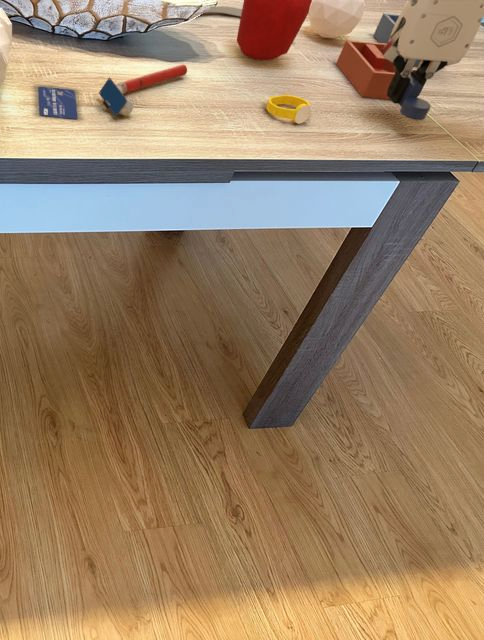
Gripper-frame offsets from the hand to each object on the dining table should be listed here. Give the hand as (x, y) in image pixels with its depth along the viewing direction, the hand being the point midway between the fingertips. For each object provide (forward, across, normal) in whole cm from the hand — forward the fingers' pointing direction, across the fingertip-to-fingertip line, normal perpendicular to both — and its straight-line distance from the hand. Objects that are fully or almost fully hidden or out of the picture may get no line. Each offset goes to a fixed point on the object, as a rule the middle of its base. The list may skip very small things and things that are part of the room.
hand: (400, 99), depth 112 cm
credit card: (+2, -52, -3) cm, 53 cm away
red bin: (+3, +2, +12) cm, 12 cm away
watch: (+2, -19, +1) cm, 19 cm away
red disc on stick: (+2, +2, +12) cm, 12 cm away
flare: (+1, -37, +3) cm, 37 cm away
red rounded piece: (+3, -16, +18) cm, 24 cm away
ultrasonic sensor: (+3, -45, -4) cm, 46 cm away
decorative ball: (+2, -1, +28) cm, 29 cm away
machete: (+3, -19, +31) cm, 36 cm away
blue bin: (+3, +14, +25) cm, 29 cm away
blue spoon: (0, 0, -2) cm, 2 cm away
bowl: (-2, -64, -4) cm, 65 cm away
